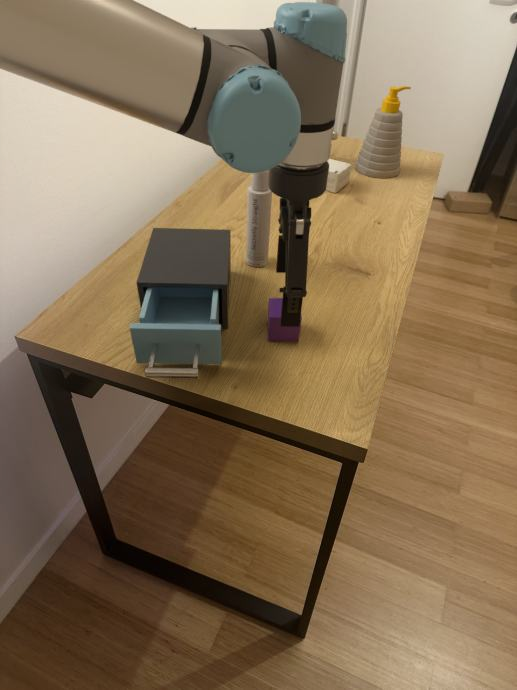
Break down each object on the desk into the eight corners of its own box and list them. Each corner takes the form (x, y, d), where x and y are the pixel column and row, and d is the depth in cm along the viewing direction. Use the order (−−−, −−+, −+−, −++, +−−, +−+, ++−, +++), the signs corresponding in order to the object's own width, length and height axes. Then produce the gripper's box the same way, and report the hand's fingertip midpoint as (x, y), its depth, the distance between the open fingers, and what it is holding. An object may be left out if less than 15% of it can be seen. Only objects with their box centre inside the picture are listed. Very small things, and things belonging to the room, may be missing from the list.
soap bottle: (409, 174, 126) (430, 92, 112) (372, 181, 122) (390, 96, 108) (381, 158, 134) (398, 79, 120) (345, 164, 130) (359, 83, 116)
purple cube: (268, 341, 74) (269, 317, 71) (267, 321, 78) (268, 297, 75) (298, 341, 75) (301, 317, 71) (296, 321, 78) (299, 298, 75)
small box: (322, 175, 123) (324, 156, 120) (348, 183, 120) (352, 163, 117) (308, 185, 118) (310, 165, 115) (335, 194, 115) (339, 173, 112)
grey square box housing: (227, 327, 76) (227, 284, 70) (144, 326, 76) (136, 282, 70) (230, 270, 89) (230, 229, 83) (158, 269, 88) (153, 227, 82)
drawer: (219, 396, 64) (218, 361, 60) (128, 395, 64) (120, 359, 59) (225, 300, 80) (224, 267, 75) (152, 299, 80) (147, 265, 75)
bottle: (241, 261, 91) (242, 160, 78) (255, 252, 94) (259, 153, 80) (258, 269, 89) (263, 167, 76) (272, 260, 92) (279, 160, 78)
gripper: (345, 206, 48) (320, 352, 62) (318, 125, 66) (304, 253, 81) (273, 204, 48) (264, 351, 62) (266, 124, 66) (261, 252, 80)
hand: (286, 296), depth 71 cm, fingers open, 13 cm apart
